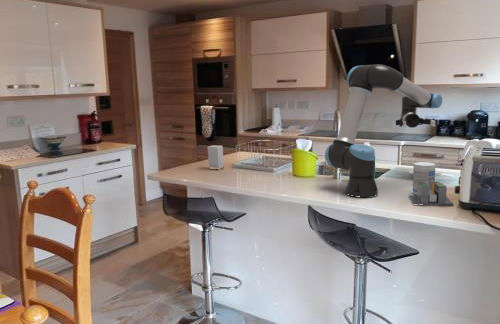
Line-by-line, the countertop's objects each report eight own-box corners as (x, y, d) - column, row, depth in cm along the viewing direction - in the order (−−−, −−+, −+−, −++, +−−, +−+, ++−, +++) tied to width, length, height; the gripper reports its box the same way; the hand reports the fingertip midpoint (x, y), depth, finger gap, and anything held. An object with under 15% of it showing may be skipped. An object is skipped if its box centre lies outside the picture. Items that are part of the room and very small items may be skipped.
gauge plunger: (417, 195, 185) (417, 178, 183) (438, 195, 183) (439, 178, 181) (421, 201, 175) (422, 183, 173) (444, 201, 173) (445, 183, 171)
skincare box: (224, 168, 267) (223, 145, 264) (218, 170, 261) (217, 147, 258) (214, 167, 271) (213, 144, 268) (208, 169, 266) (207, 146, 263)
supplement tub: (433, 197, 185) (434, 166, 182) (411, 195, 190) (412, 164, 187) (435, 192, 193) (436, 162, 191) (413, 190, 198) (415, 161, 195)
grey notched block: (408, 197, 186) (409, 179, 185) (445, 198, 183) (446, 180, 182) (413, 205, 175) (414, 186, 173) (453, 206, 172) (454, 186, 170)
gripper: (435, 126, 217) (446, 131, 197) (387, 127, 222) (392, 131, 202) (436, 112, 216) (447, 115, 195) (387, 113, 221) (393, 116, 200)
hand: (419, 124), depth 198 cm, fingers open, 13 cm apart
